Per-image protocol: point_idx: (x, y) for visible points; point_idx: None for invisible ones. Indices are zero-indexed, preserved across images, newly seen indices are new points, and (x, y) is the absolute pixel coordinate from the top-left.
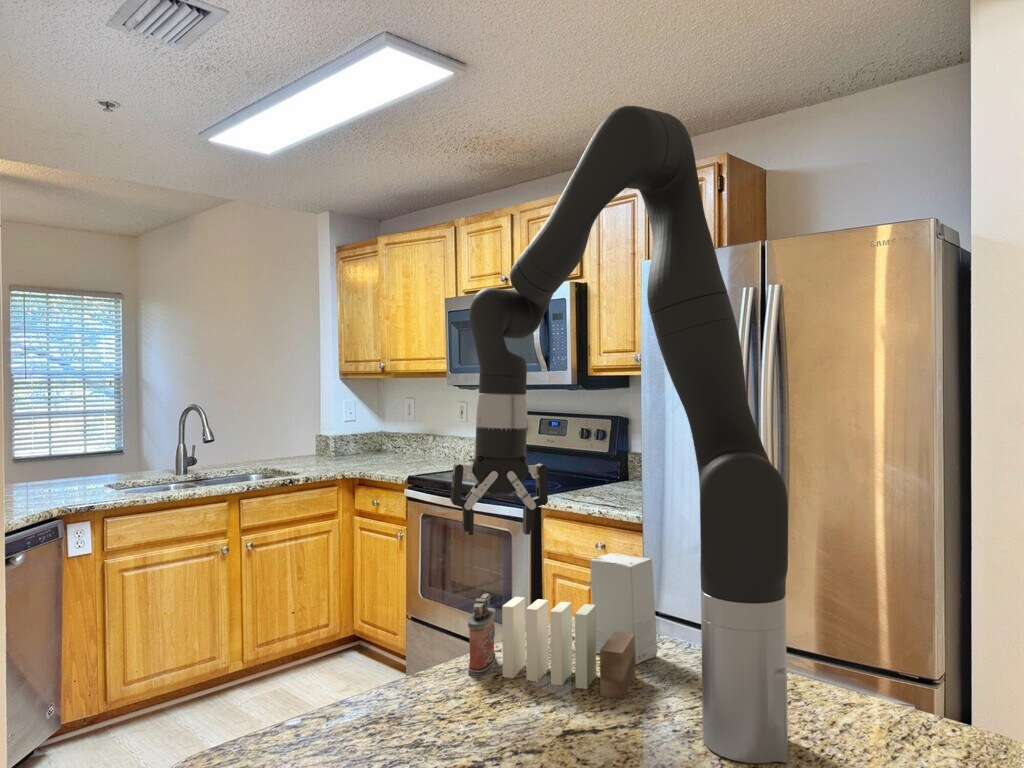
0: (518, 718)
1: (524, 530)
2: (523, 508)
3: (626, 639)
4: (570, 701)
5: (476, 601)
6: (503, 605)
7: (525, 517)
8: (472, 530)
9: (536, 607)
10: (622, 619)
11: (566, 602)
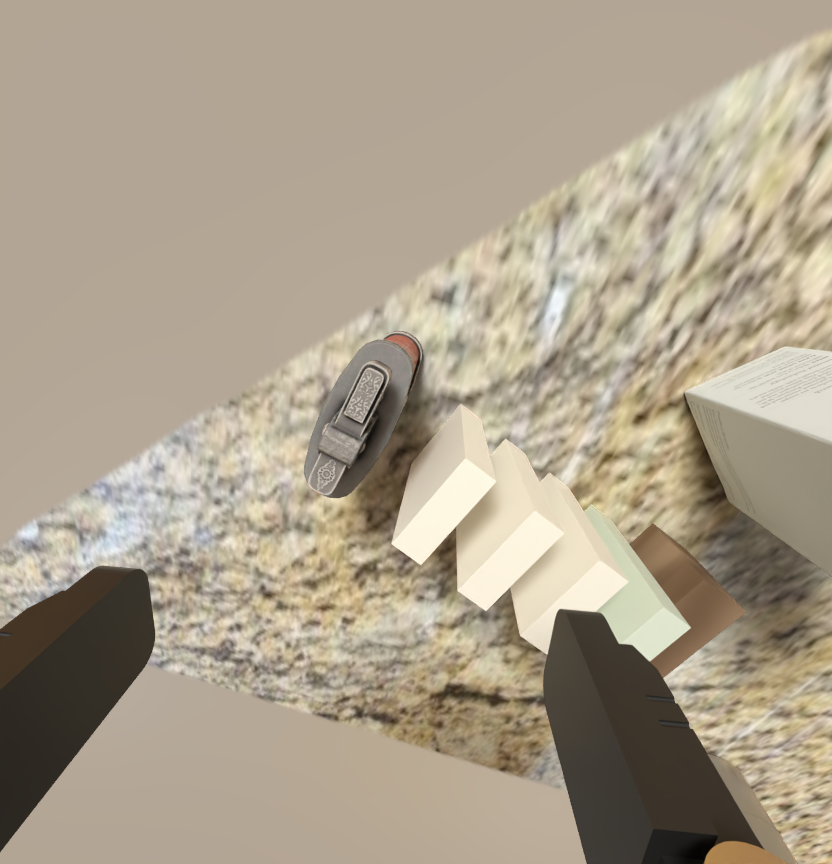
0: (391, 631)
1: (555, 670)
2: (646, 823)
3: (698, 636)
4: (501, 604)
5: (322, 450)
6: (396, 540)
7: (587, 809)
8: (124, 686)
9: (493, 592)
10: (788, 521)
11: (612, 574)
